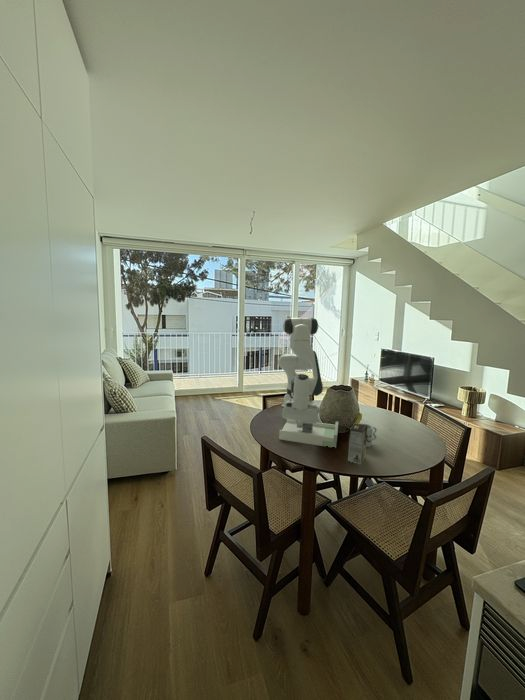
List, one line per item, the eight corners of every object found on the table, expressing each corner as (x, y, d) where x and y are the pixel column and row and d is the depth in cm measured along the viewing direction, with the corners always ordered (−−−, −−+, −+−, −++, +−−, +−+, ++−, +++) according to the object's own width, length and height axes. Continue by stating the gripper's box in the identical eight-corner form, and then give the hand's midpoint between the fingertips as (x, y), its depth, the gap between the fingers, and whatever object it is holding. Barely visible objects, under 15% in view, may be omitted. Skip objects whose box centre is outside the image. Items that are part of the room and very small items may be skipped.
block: (303, 428, 173) (303, 421, 172) (312, 429, 172) (312, 423, 171) (302, 431, 168) (302, 425, 168) (311, 433, 167) (311, 426, 166)
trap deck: (286, 426, 184) (287, 415, 183) (337, 433, 176) (338, 421, 175) (279, 439, 165) (279, 426, 164) (335, 448, 157) (336, 435, 156)
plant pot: (358, 426, 189) (360, 410, 187) (362, 432, 178) (363, 416, 177) (341, 424, 190) (342, 409, 188) (344, 431, 179) (345, 415, 178)
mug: (360, 448, 157) (361, 430, 156) (350, 441, 166) (352, 423, 164) (380, 446, 160) (382, 428, 159) (370, 439, 169) (371, 422, 168)
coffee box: (351, 453, 151) (354, 422, 149) (365, 457, 148) (367, 425, 146) (347, 461, 143) (349, 428, 141) (361, 465, 140) (364, 431, 138)
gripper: (320, 404, 169) (318, 428, 171) (284, 400, 175) (283, 423, 177) (318, 407, 163) (317, 432, 165) (281, 403, 169) (280, 427, 171)
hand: (299, 427), depth 171 cm, fingers closed
